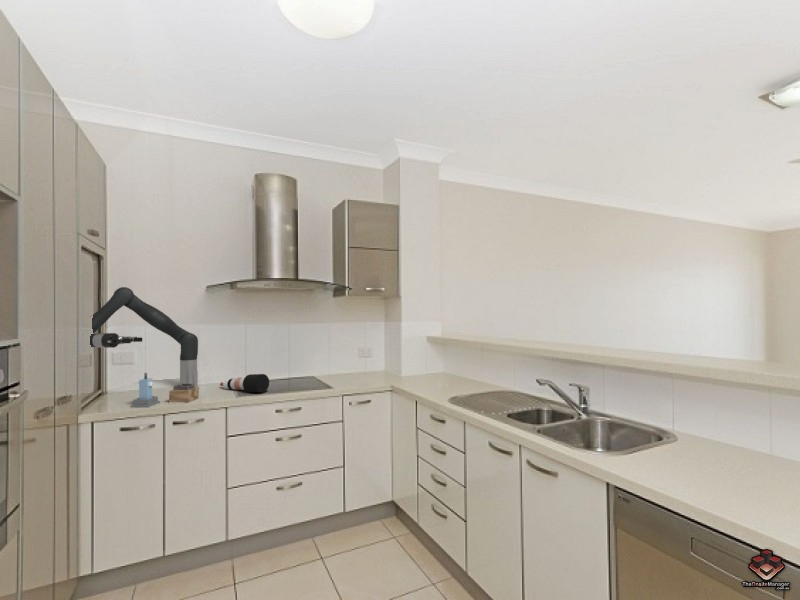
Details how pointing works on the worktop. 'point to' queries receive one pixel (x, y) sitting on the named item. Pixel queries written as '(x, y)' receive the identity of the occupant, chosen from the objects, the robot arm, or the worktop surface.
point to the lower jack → (145, 402)
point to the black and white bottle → (248, 383)
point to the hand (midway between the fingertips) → (136, 340)
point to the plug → (145, 387)
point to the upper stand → (184, 393)
